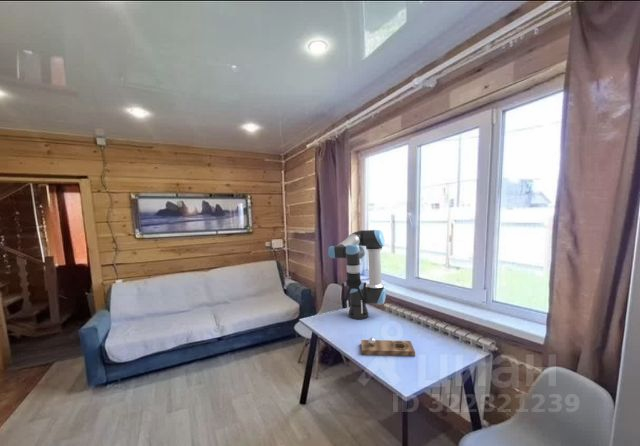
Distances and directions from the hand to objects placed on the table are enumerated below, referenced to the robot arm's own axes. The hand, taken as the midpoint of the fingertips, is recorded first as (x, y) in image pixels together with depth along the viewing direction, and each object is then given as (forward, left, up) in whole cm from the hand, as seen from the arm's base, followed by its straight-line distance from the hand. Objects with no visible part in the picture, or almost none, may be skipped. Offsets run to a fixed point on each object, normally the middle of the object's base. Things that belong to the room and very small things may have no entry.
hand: (354, 312), depth 151 cm
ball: (0, +9, -17) cm, 19 cm away
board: (0, +17, -21) cm, 27 cm away
